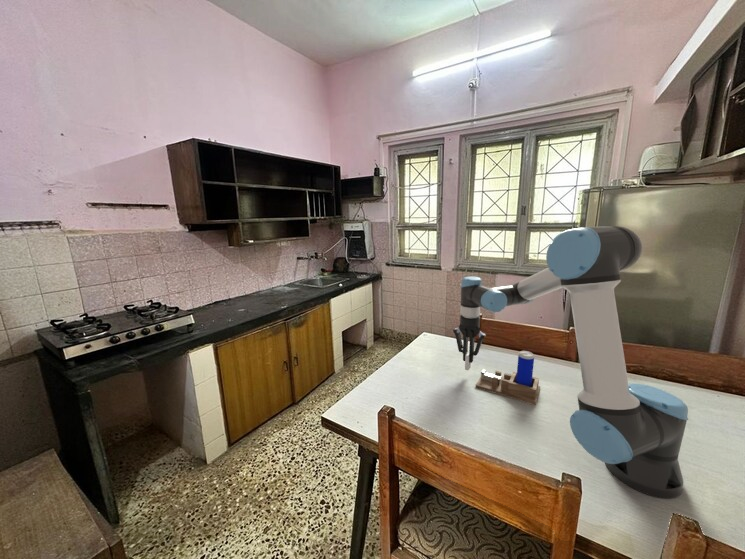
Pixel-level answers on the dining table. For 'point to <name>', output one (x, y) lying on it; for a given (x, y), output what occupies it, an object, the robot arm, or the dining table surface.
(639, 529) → the dining table surface
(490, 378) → the lock pin
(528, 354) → the beverage can
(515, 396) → the mount
